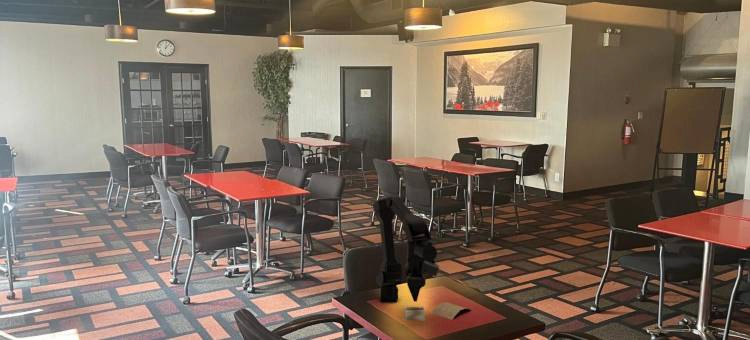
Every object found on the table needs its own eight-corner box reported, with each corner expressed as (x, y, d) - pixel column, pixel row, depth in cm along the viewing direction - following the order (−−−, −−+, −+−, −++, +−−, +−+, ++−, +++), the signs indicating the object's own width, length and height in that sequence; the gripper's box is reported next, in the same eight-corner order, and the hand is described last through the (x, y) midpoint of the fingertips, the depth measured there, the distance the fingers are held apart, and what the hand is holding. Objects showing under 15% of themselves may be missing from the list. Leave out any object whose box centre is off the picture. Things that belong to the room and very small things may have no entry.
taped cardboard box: (405, 321, 207) (405, 311, 207) (403, 316, 212) (404, 306, 212) (425, 321, 208) (425, 311, 207) (423, 315, 212) (423, 306, 212)
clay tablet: (451, 322, 207) (452, 314, 207) (428, 315, 214) (429, 308, 214) (473, 311, 218) (473, 304, 218) (451, 304, 225) (451, 298, 225)
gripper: (440, 262, 198) (439, 306, 200) (435, 247, 216) (434, 288, 218) (407, 261, 198) (407, 306, 200) (405, 247, 216) (404, 288, 218)
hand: (414, 296), depth 209 cm, fingers open, 9 cm apart
